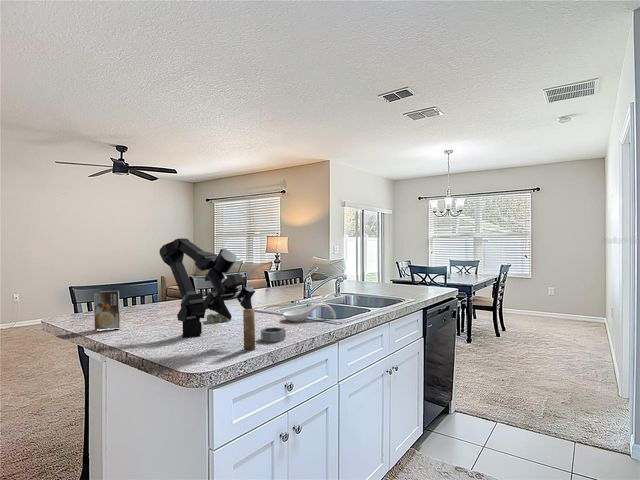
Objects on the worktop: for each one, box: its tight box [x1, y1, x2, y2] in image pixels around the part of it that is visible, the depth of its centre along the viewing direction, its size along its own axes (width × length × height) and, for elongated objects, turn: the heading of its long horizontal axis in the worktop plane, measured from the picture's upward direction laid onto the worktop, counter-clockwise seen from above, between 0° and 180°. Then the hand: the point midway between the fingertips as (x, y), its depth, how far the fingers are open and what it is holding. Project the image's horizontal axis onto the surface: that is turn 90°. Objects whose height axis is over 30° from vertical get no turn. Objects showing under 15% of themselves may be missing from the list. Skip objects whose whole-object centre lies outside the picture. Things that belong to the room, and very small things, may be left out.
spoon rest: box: [282, 302, 337, 323], centre depth 171 cm, size 24×12×7 cm, turn 100°
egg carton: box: [206, 313, 232, 324], centre depth 172 cm, size 11×8×4 cm
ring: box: [260, 326, 287, 343], centre depth 137 cm, size 8×8×3 cm
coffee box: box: [93, 289, 121, 331], centre depth 158 cm, size 9×6×16 cm
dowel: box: [242, 308, 256, 352], centre depth 124 cm, size 4×4×13 cm
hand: (241, 316), depth 127 cm, fingers open, 9 cm apart
